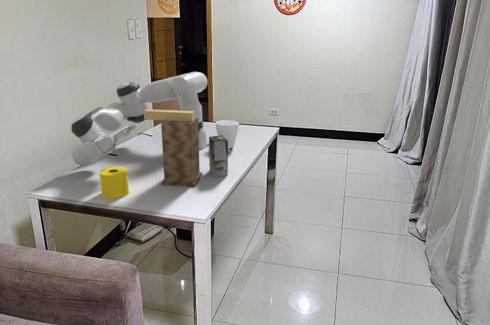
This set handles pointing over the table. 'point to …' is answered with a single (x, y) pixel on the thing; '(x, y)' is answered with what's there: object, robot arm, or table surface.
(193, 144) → the stand
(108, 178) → the yellow toilet paper roll
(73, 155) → the robot arm
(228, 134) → the cup
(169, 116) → the bar
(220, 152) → the coffee box
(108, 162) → the table surface
